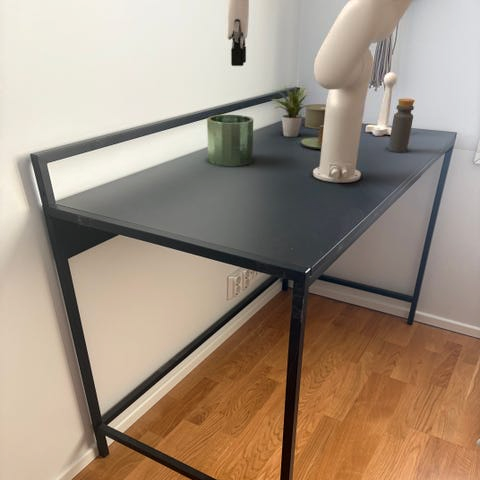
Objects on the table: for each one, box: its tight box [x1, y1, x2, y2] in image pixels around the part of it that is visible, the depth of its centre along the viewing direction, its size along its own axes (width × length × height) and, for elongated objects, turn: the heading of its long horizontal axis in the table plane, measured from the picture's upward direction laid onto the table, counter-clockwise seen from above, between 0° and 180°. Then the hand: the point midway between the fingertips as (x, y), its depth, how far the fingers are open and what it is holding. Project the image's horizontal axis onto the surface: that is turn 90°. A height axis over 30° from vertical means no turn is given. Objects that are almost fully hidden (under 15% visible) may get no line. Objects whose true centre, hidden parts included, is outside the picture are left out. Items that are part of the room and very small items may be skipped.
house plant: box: [270, 85, 309, 138], centre depth 170 cm, size 14×14×16 cm
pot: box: [206, 114, 254, 167], centre depth 140 cm, size 13×13×12 cm
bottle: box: [387, 98, 415, 153], centre depth 153 cm, size 6×6×15 cm
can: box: [304, 103, 326, 130], centre depth 185 cm, size 12×12×7 cm
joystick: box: [365, 71, 398, 137], centre depth 171 cm, size 11×8×20 cm
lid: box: [300, 125, 324, 150], centre depth 159 cm, size 14×14×6 cm
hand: (238, 64), depth 134 cm, fingers open, 9 cm apart
